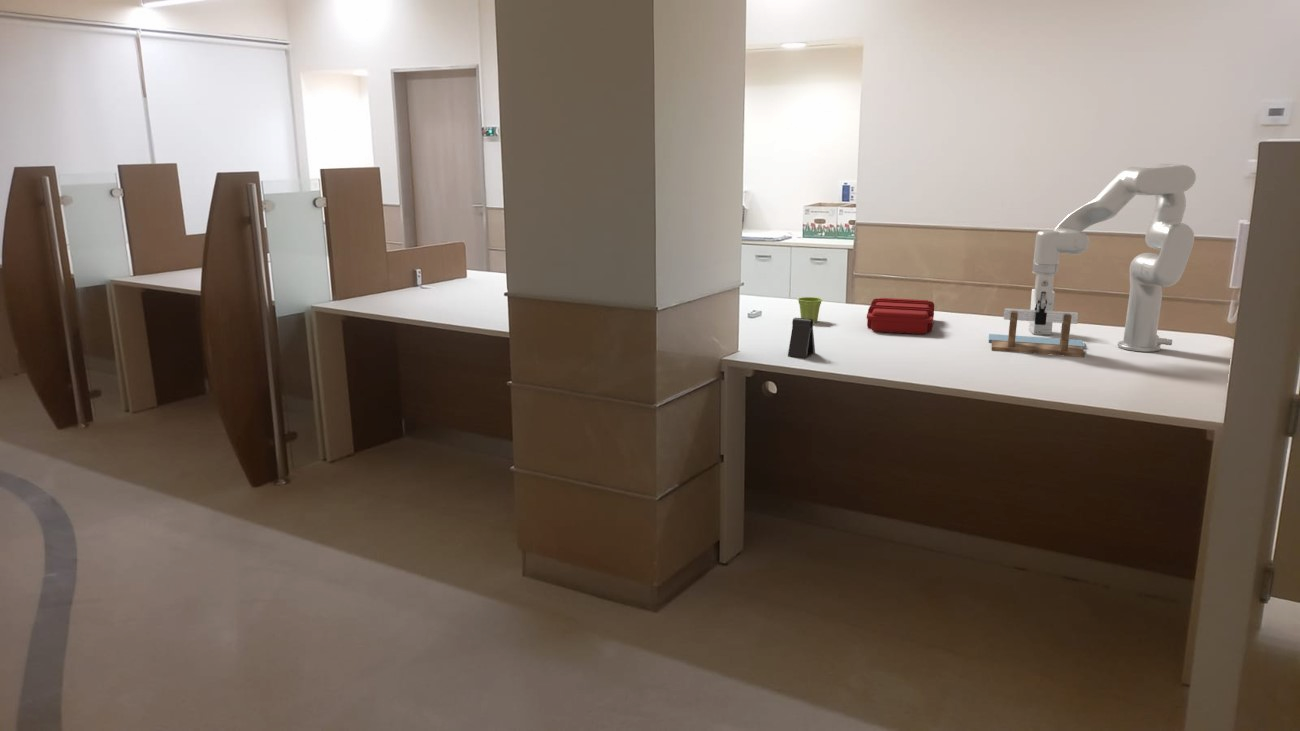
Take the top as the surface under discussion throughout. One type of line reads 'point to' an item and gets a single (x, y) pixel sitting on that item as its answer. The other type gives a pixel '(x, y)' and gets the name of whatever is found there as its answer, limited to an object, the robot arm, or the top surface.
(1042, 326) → the skincare box
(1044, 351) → the cradle stand
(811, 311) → the plant pot
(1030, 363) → the top surface
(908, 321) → the first aid kit
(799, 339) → the phone stand
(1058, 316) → the aluminium rail
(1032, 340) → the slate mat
